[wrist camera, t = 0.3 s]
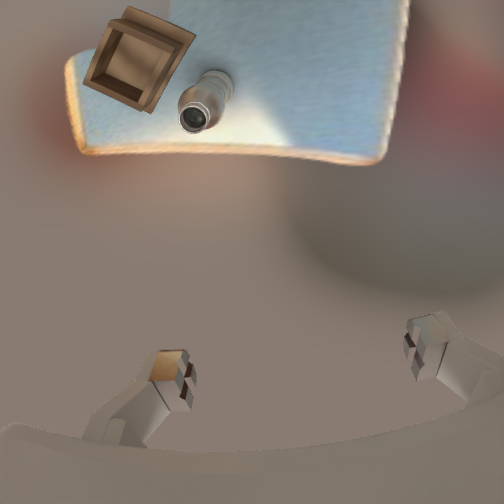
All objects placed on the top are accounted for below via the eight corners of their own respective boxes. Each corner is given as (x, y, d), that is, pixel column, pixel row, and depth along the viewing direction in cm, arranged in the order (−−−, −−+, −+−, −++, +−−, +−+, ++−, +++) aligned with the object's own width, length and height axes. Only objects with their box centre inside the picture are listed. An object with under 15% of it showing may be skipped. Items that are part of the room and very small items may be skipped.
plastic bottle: (202, 106, 52) (174, 149, 38) (194, 72, 48) (160, 100, 33) (237, 100, 52) (224, 140, 37) (231, 65, 47) (213, 89, 32)
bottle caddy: (129, 6, 38) (112, 6, 33) (196, 35, 43) (186, 37, 38) (92, 84, 48) (74, 93, 43) (152, 112, 53) (139, 124, 48)
